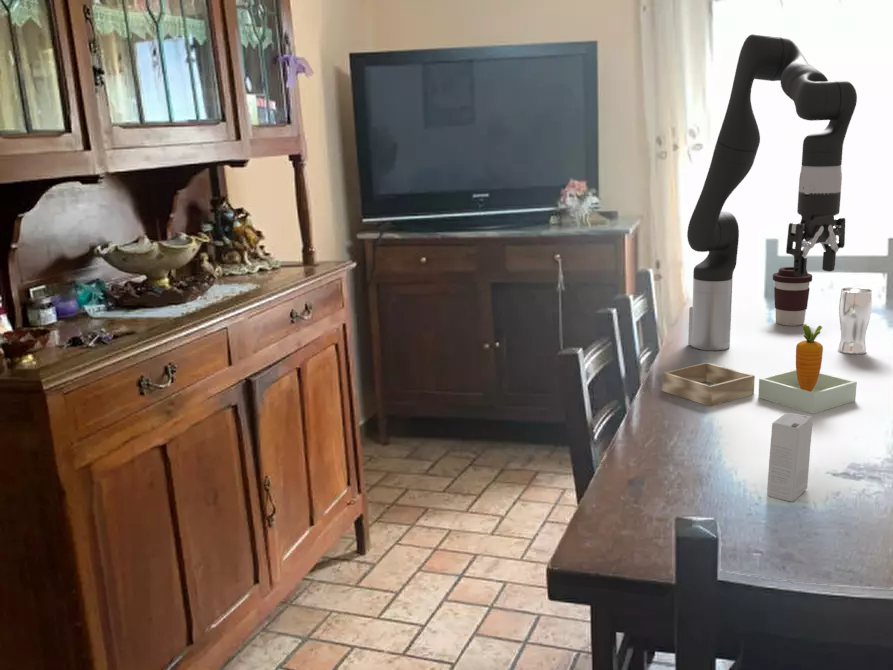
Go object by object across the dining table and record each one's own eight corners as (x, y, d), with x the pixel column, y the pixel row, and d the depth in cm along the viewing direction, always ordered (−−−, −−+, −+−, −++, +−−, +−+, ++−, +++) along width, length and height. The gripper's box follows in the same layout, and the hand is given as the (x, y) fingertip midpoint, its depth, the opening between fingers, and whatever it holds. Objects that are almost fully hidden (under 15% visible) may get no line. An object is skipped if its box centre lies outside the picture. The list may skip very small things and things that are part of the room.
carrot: (818, 393, 184) (824, 321, 181) (820, 400, 180) (825, 327, 176) (792, 391, 186) (797, 320, 182) (793, 398, 181) (798, 325, 178)
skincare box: (780, 483, 143) (784, 410, 140) (809, 490, 140) (813, 415, 137) (765, 496, 138) (769, 421, 135) (795, 504, 135) (799, 427, 132)
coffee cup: (812, 321, 248) (816, 267, 244) (805, 328, 240) (808, 272, 236) (775, 318, 253) (778, 264, 250) (766, 325, 245) (769, 270, 241)
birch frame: (662, 390, 191) (662, 372, 191) (706, 380, 198) (706, 362, 197) (709, 406, 181) (710, 387, 180) (753, 394, 187) (754, 375, 186)
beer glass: (871, 355, 213) (876, 292, 209) (839, 354, 214) (844, 292, 210) (864, 348, 219) (868, 287, 216) (833, 347, 221) (837, 286, 217)
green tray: (758, 397, 185) (759, 378, 184) (800, 385, 192) (801, 367, 191) (813, 413, 174) (814, 393, 173) (855, 400, 181) (856, 381, 180)
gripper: (826, 186, 179) (820, 266, 183) (778, 191, 172) (773, 275, 176) (860, 188, 173) (854, 271, 177) (812, 193, 166) (806, 280, 170)
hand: (814, 273), depth 177 cm, fingers open, 8 cm apart
